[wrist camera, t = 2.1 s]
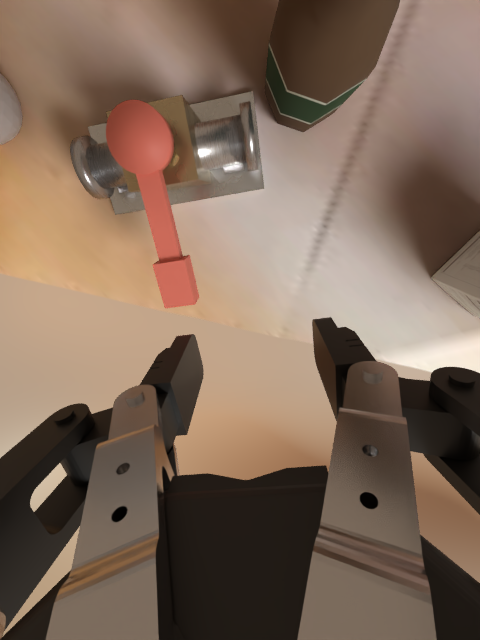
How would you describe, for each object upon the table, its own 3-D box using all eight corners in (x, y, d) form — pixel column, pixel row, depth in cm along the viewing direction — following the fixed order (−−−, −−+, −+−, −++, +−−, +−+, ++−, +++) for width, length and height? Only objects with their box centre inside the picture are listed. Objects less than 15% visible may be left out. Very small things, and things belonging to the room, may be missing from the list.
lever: (108, 113, 21) (94, 105, 19) (166, 100, 21) (157, 91, 19) (162, 301, 27) (155, 309, 25) (208, 295, 27) (204, 302, 25)
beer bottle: (266, 138, 31) (296, -3, 9) (261, 46, 28) (285, -532, 6) (339, 129, 30) (569, -51, 8) (342, 33, 27) (728, -683, 5)
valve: (91, 128, 31) (13, 96, 21) (253, 93, 29) (252, 40, 19) (118, 214, 35) (62, 222, 25) (263, 188, 33) (267, 185, 23)
